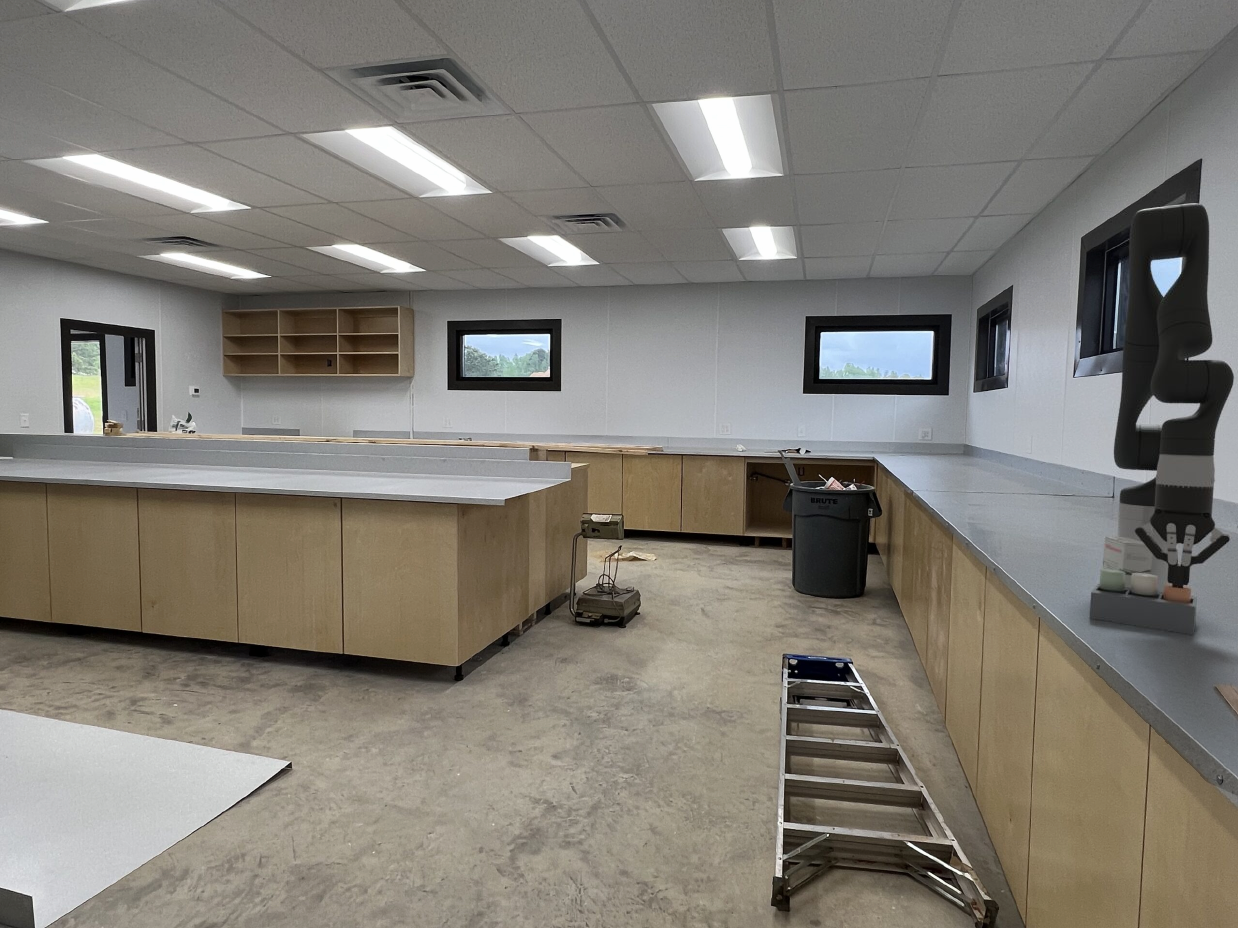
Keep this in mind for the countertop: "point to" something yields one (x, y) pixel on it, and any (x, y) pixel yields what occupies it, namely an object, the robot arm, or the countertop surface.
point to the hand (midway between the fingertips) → (1177, 586)
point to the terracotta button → (1177, 593)
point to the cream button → (1144, 584)
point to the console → (1143, 610)
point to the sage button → (1112, 579)
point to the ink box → (1126, 557)
